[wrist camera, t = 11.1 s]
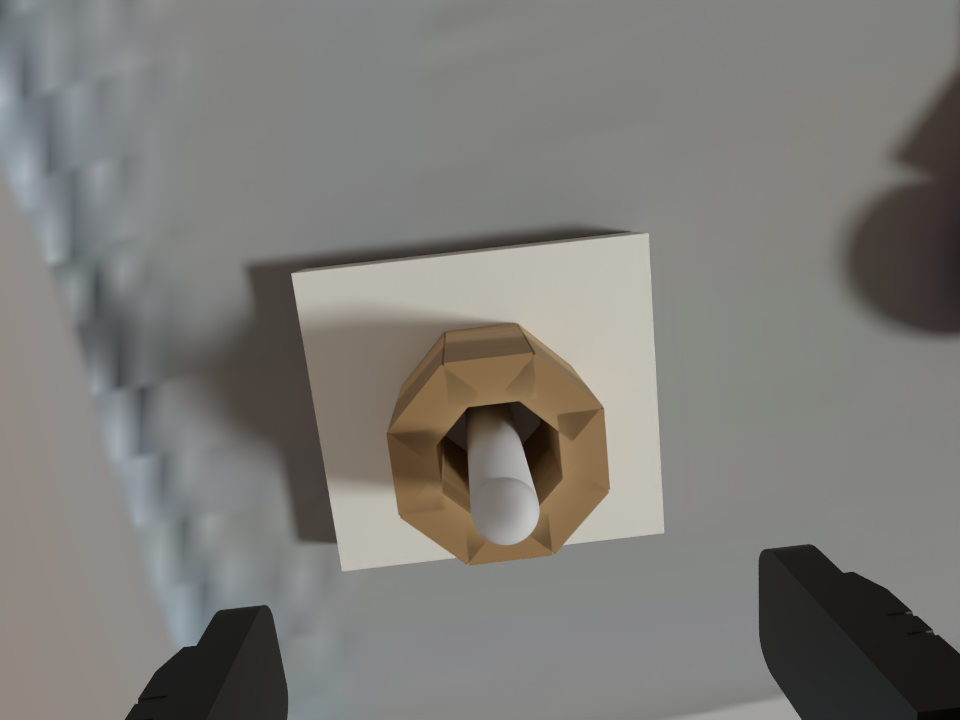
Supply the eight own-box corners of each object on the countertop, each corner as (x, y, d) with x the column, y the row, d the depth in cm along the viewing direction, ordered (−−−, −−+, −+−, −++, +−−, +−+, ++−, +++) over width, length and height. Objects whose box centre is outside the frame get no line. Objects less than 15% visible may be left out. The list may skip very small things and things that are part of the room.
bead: (393, 337, 22) (376, 370, 18) (568, 316, 22) (599, 344, 18) (416, 499, 24) (407, 572, 19) (581, 479, 24) (614, 547, 19)
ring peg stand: (304, 268, 24) (185, 310, 13) (632, 231, 24) (773, 243, 13) (350, 544, 26) (280, 766, 16) (648, 509, 26) (778, 705, 16)
